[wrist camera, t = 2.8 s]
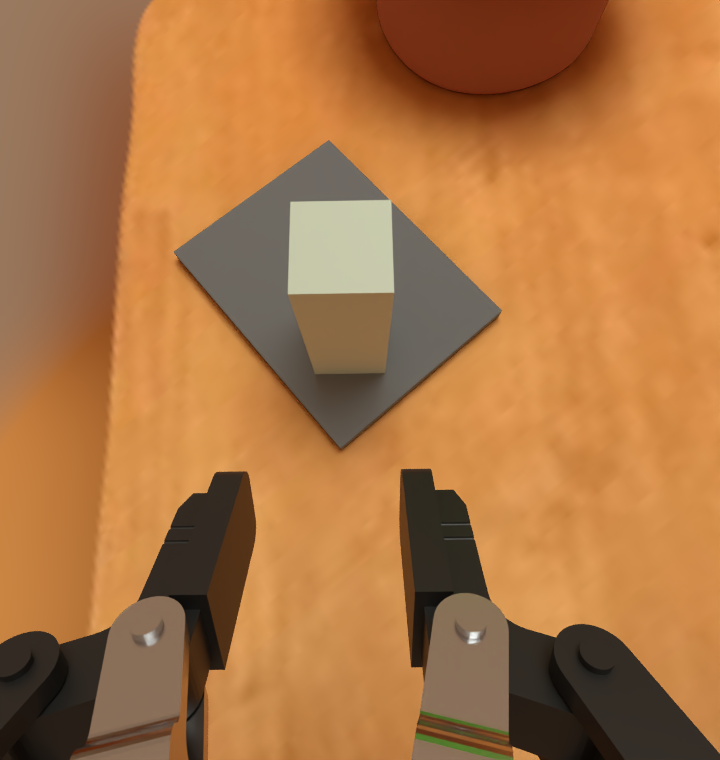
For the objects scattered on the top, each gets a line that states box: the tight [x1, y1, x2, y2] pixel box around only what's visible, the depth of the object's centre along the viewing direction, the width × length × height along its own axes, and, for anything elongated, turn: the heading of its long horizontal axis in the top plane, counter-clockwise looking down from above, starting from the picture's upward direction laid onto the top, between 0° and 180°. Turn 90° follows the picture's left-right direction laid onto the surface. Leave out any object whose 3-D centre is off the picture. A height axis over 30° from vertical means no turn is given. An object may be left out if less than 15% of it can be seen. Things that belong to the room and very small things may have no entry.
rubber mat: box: [174, 140, 502, 450], centre depth 36 cm, size 18×14×1 cm
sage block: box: [288, 200, 394, 374], centre depth 28 cm, size 4×4×12 cm
